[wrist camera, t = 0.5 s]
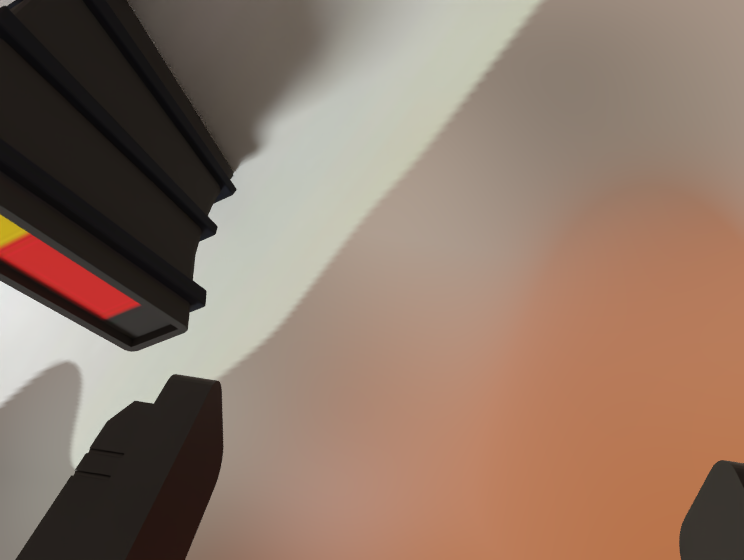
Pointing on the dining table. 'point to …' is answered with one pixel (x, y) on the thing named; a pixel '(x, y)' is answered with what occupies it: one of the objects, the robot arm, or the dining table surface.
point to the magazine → (101, 171)
